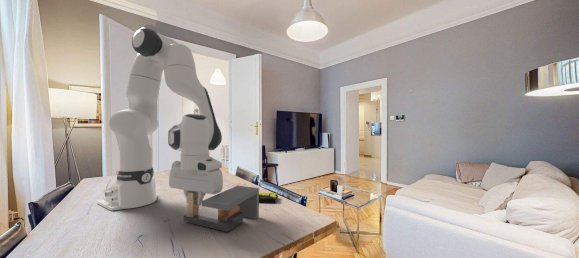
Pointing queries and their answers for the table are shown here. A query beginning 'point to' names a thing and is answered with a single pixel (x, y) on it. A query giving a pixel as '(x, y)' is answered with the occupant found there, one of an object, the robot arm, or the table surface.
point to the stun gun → (267, 197)
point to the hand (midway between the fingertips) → (194, 203)
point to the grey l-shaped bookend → (236, 200)
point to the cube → (227, 213)
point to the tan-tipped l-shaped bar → (206, 221)
